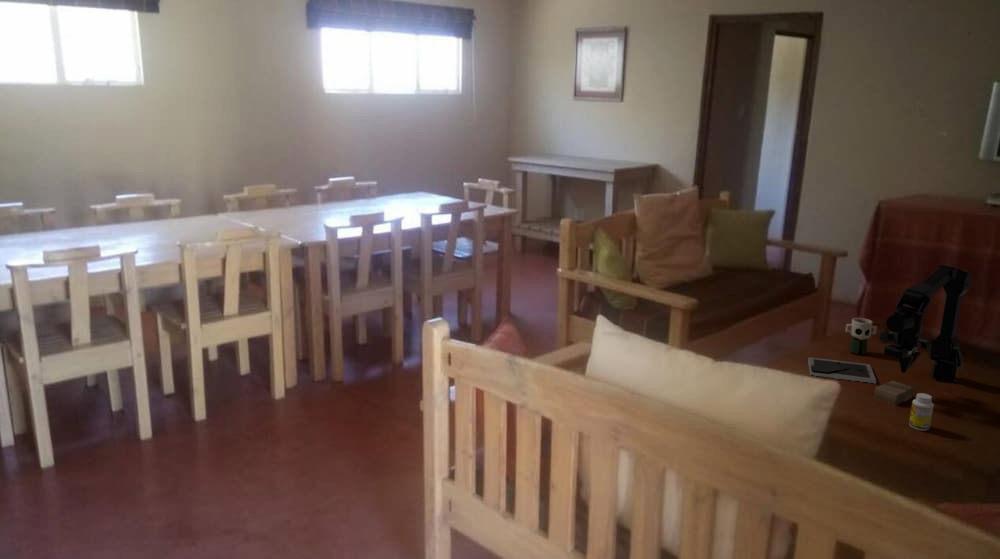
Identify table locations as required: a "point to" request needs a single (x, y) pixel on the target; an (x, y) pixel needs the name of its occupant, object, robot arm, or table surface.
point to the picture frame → (841, 370)
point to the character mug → (860, 334)
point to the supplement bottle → (921, 412)
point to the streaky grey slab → (893, 392)
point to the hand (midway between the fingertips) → (903, 372)
